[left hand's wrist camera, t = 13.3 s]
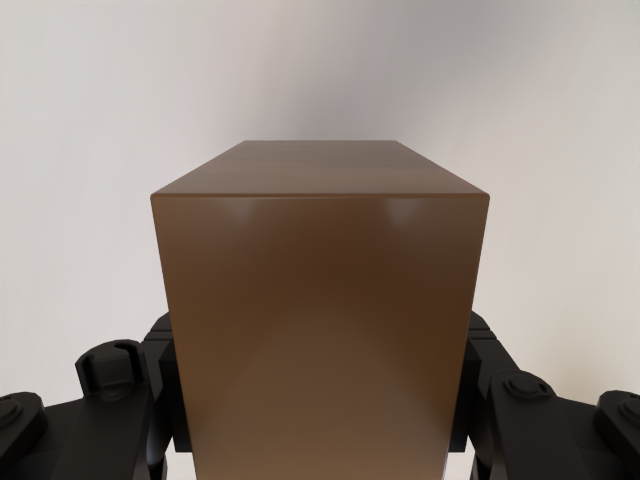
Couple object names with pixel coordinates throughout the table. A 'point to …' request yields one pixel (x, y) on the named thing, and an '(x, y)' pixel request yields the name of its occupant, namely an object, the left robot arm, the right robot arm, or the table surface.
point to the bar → (320, 308)
